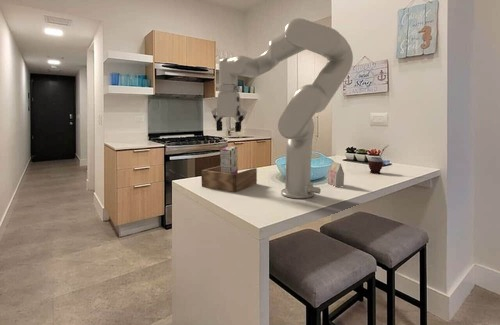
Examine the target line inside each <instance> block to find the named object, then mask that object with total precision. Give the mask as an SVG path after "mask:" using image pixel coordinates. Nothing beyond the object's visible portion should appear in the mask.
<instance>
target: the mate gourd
mask: <svg viewBox="0 0 500 325" xmlns="http://www.w3.org/2000/svg"><path fill="white" fill-rule="evenodd" d="M389 146H390V144H388V145H386V146H385V147H383V148H382V150H381V152H380V155H379V157H376V156H371V157H370V158H369V160H368V164H367V165H368V168H369V169H370V171H369V173H370V174H371V173H373V174H376V173H378V174H377V175H380V174H381V170H382V168H383V166H384V160H383V158H381V157H382V155H383V153H384V151H385V149H386V148H388V147H389Z"/></svg>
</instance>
